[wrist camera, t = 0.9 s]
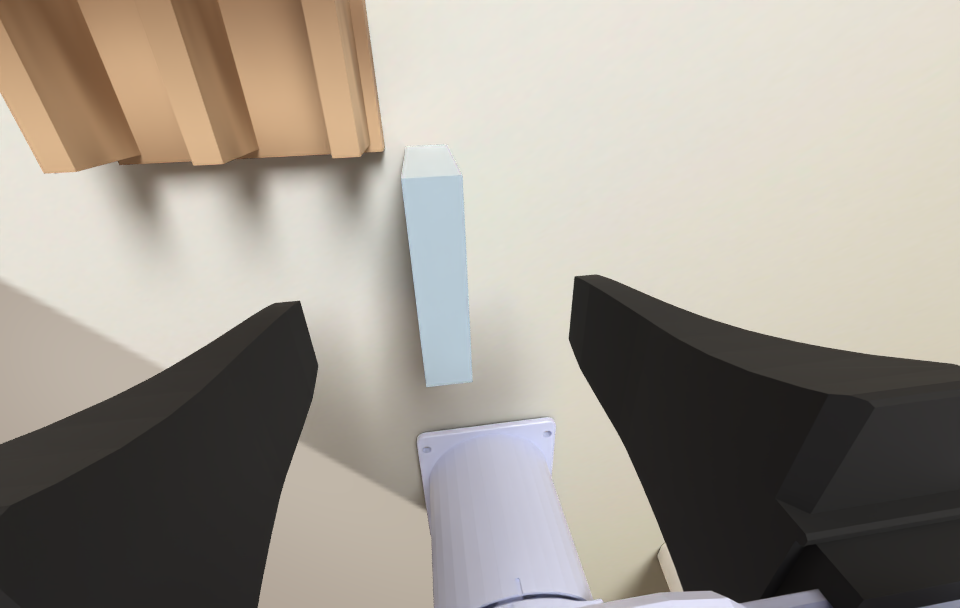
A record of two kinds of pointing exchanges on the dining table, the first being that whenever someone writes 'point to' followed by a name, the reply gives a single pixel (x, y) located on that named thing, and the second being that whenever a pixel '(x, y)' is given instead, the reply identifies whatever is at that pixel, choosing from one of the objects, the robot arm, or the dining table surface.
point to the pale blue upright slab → (438, 261)
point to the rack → (188, 80)
